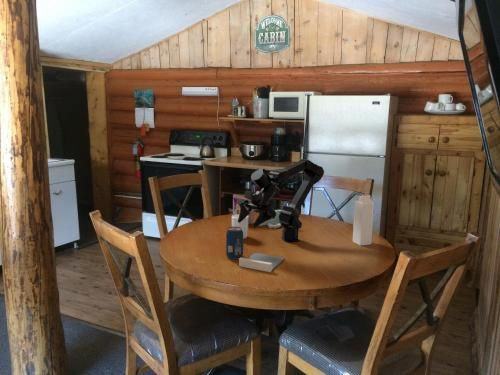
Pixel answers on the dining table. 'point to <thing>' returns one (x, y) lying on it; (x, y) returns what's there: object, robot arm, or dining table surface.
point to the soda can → (234, 242)
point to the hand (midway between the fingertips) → (245, 224)
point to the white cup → (240, 224)
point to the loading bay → (260, 262)
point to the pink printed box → (237, 208)
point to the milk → (363, 220)
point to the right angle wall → (273, 221)
